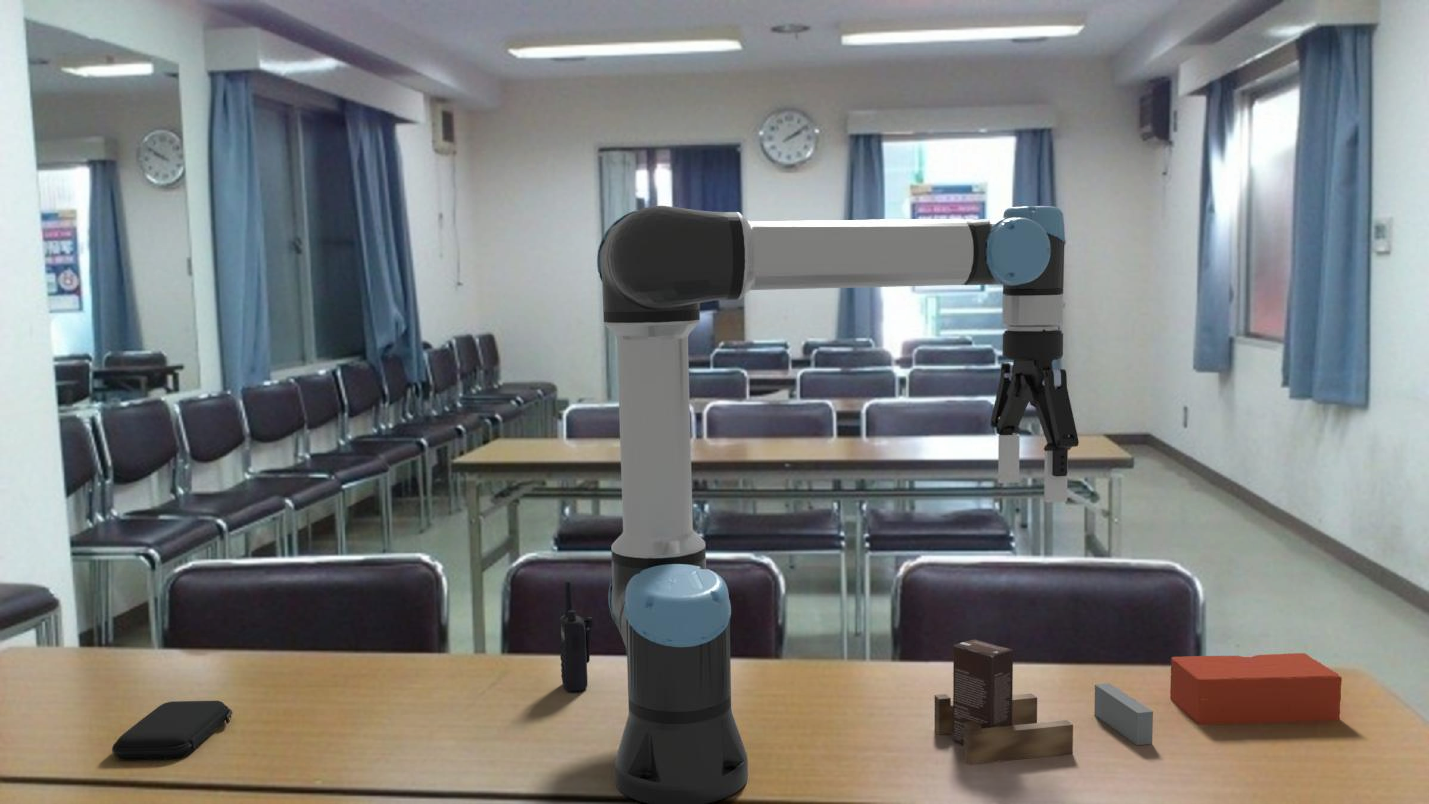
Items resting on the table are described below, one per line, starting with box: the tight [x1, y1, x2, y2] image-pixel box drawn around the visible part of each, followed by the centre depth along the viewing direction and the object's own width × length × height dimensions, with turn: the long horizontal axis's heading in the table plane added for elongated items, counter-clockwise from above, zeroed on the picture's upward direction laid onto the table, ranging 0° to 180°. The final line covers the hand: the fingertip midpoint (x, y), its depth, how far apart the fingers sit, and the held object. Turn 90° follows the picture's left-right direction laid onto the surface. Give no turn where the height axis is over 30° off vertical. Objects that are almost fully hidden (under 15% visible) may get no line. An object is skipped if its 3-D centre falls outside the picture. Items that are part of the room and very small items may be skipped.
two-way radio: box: [559, 579, 594, 692], centre depth 164 cm, size 6×4×15 cm
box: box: [952, 639, 1014, 745], centre depth 142 cm, size 6×4×12 cm
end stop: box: [1093, 682, 1154, 746], centre depth 146 cm, size 2×10×4 cm, turn 11°
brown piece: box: [934, 693, 1074, 765], centre depth 142 cm, size 13×11×4 cm
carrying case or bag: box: [111, 700, 233, 761], centre depth 149 cm, size 11×3×15 cm
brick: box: [1169, 652, 1343, 725], centre depth 151 cm, size 18×9×6 cm, turn 91°
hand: (1031, 491), depth 153 cm, fingers open, 13 cm apart
